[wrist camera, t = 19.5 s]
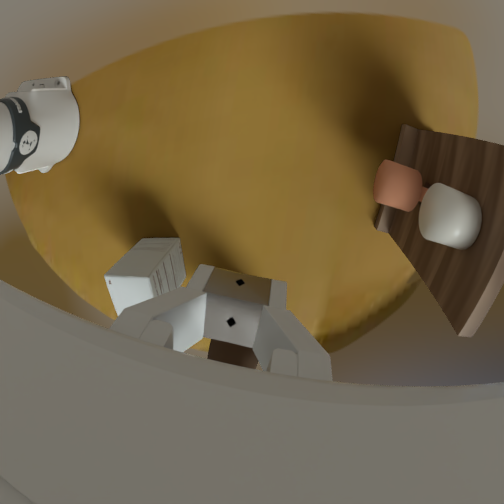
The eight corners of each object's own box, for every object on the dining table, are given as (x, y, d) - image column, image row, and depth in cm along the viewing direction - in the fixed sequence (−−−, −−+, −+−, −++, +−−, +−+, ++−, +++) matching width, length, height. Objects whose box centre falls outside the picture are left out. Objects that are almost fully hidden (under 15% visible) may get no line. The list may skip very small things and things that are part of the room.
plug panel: (374, 226, 40) (442, 334, 18) (402, 124, 32) (518, 142, 11) (406, 235, 40) (484, 338, 18) (435, 138, 32) (554, 173, 11)
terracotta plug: (370, 195, 32) (382, 208, 27) (380, 156, 29) (395, 163, 25) (434, 216, 31) (452, 230, 27) (446, 181, 29) (465, 191, 25)
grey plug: (413, 226, 23) (435, 249, 19) (429, 177, 21) (456, 191, 17) (480, 249, 23) (504, 271, 19) (496, 207, 21) (523, 224, 16)
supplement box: (150, 275, 49) (116, 317, 37) (141, 236, 45) (101, 274, 34) (187, 277, 48) (160, 323, 36) (181, 236, 44) (147, 277, 33)
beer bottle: (276, 303, 48) (264, 428, 26) (250, 329, 51) (227, 446, 30) (239, 278, 46) (201, 401, 25) (215, 307, 50) (173, 422, 28)
